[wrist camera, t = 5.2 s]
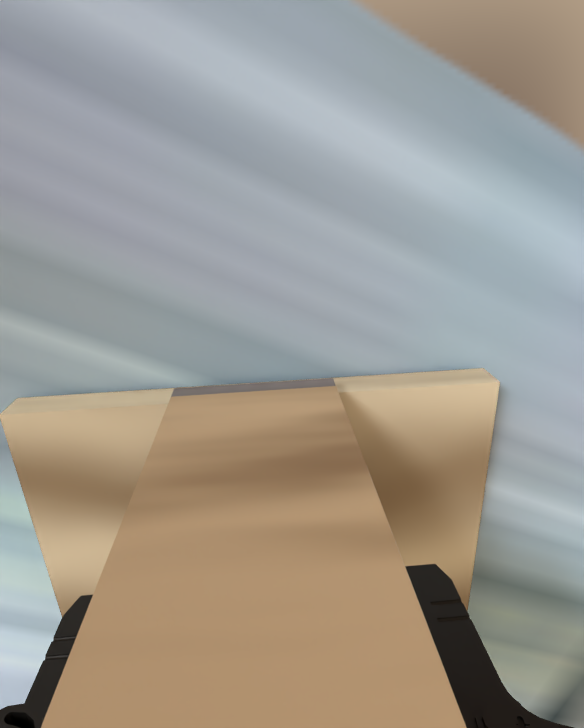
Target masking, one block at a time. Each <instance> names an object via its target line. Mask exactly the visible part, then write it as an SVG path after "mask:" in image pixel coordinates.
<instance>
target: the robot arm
mask: <svg viewBox="0 0 584 728" xmlns="http://www.w3.org/2000/svg"><path fill="white" fill-rule="evenodd" d="M366 466H367V465H366ZM369 474H370V473H369ZM371 479H372V478H371ZM372 482H373V481H372ZM374 487H375V486H374ZM376 492H377V491H376ZM377 495H378V494H377ZM379 500H380V499H379ZM382 508H383V507H382ZM384 513H385V512H384ZM385 516H386V515H385ZM387 521H388V520H387ZM389 526H390V525H389ZM390 529H391V528H390ZM392 534H393V533H392ZM395 542H396V541H395ZM397 547H398V546H397ZM398 550H399V549H398ZM400 555H401V554H400ZM402 560H403V559H402ZM403 563H404V562H403ZM405 568H406V570H407V573H408V576H409V578H410V581H411V584H412V586H413V589H414V591H415V594H416V597H417V599H418V602H419V604H420V607H421V610H422V612H423V615H424V618H425V620H426V623H427V625H428V628H429V631H430V633H431V636H432V638H433V641H434V644H435V646H436V649H437V652H438V654H439V657H440V659H441V662H442V665H443V667H444V670H445V672H446V675H447V678H448V680H449V683H450V686H451V688H452V691H453V693H454V696H455V699H456V701H457V704H458V706H459V709H460V712H461V714H462V717H463V720H464V722H465V725H466V727H467V728H573V727H569V726H565V725H561V724H557V723H553V722H550V721H547V720H544V719H542V718H539V717H537V716H536V715H534V714H532V713H531V712H529V711H527V710H526V709H525V708H523V706H522V705H521V704H520V703H519V702H518V701H516V700H515V699H514V698H513V697H512V696H511V695H510V694H509V693H508V692H507V690H506V688H505V687H504V685H503V683H502V682H501V680H500V678H499V676H498V674H497V672H496V670H495V668H494V666H493V664H492V661H491V659H490V657H489V655H488V653H487V651H486V649H485V647H484V645H483V643H482V641H481V639H480V637H479V635H478V633H477V631H476V629H475V626H474V624H473V622H472V620H470V618H469V614H468V612H467V610H466V608H465V606H464V604H463V603H462V602H461V598H460V596H459V594H458V591H457V589H456V587H455V585H454V583H453V581H452V579H451V578H450V577H449V576H448V575H446V574H445V573H444V572H443V571H442V570H441V569H440V568H439V567H438V566H437V565H436V564H426V565H414V566H405ZM92 596H93V595H82V596H80V597H79V598H78V599H77V600H76V601H75V603H74V604H73V605H72V606H71V607H70V608H69V609H68V611H67V612H66V613H65V614H64V615H63V617H62V620H61V622H60V624H59V626H58V629H57V631H56V633H55V635H54V640H53V642H51V644H50V647H49V649H48V651H47V654H46V658H45V661H43V663H42V665H41V667H40V669H39V672H38V674H37V676H36V678H35V681H34V683H33V685H32V687H31V690H30V692H29V694H28V697H27V699H26V701H25V703H24V704H19V705H12V706H7V707H5V708H3V709H1V710H0V728H41V726H42V723H43V721H44V718H45V716H46V713H47V711H48V708H49V706H50V703H51V700H52V698H53V695H54V693H55V690H56V688H57V685H58V683H59V680H60V678H61V675H62V672H63V670H64V667H65V665H66V662H67V660H68V657H69V655H70V652H71V650H72V647H73V644H74V642H75V639H76V637H77V634H78V632H79V629H80V627H81V624H82V622H83V619H84V617H85V614H86V611H87V609H88V606H89V604H90V601H91V599H92Z"/></svg>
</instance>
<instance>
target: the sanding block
mask: <svg viewBox="0 0 584 728" xmlns="http://www.w3.org/2000/svg"><path fill="white" fill-rule="evenodd" d="M41 728H467V727H466V725H465V722H464V720H463V717H462V714H461V712H460V709H459V706H458V704H457V701H456V699H455V696H454V693H453V691H452V688H451V686H450V683H449V680H448V678H447V675H446V672H445V670H444V667H443V665H442V662H441V659H440V657H439V654H438V652H437V649H436V646H435V644H434V641H433V638H432V636H431V633H430V631H429V628H428V625H427V623H426V620H425V618H424V615H423V612H422V610H421V607H420V604H419V602H418V599H417V597H416V594H415V591H414V589H413V586H412V584H411V581H410V578H409V576H408V573H407V570H406V568H405V565H404V563H403V560H402V557H401V555H400V552H399V550H398V547H397V544H396V542H395V539H394V536H393V534H392V531H391V529H390V526H389V523H388V521H387V518H386V516H385V513H384V510H383V508H382V505H381V502H380V500H379V497H378V495H377V492H376V489H375V487H374V484H373V482H372V479H371V476H370V474H369V471H368V468H367V466H366V463H365V461H364V458H363V455H362V453H361V450H360V448H359V445H358V442H357V440H356V437H355V434H354V432H353V429H352V427H351V424H350V421H349V419H348V416H347V414H346V411H345V408H344V406H343V403H342V400H341V398H340V395H339V393H338V390H337V387H336V385H335V382H334V380H333V378H327V379H311V380H296V381H280V382H265V383H249V384H234V385H218V386H203V387H187V388H174V390H173V393H172V395H171V398H170V400H169V403H168V405H167V408H166V411H165V413H164V416H163V418H162V421H161V423H160V426H159V428H158V431H157V433H156V436H155V439H154V441H153V444H152V446H151V449H150V451H149V454H148V456H147V459H146V461H145V464H144V466H143V469H142V472H141V474H140V477H139V479H138V482H137V484H136V487H135V489H134V492H133V494H132V497H131V500H130V502H129V505H128V507H127V510H126V512H125V515H124V517H123V520H122V522H121V525H120V528H119V530H118V533H117V535H116V538H115V540H114V543H113V545H112V548H111V550H110V553H109V555H108V558H107V561H106V563H105V566H104V568H103V571H102V573H101V576H100V578H99V581H98V583H97V586H96V589H95V591H94V594H93V596H92V599H91V601H90V604H89V606H88V609H87V611H86V614H85V617H84V619H83V622H82V624H81V627H80V629H79V632H78V634H77V637H76V639H75V642H74V644H73V647H72V650H71V652H70V655H69V657H68V660H67V662H66V665H65V667H64V670H63V672H62V675H61V678H60V680H59V683H58V685H57V688H56V690H55V693H54V695H53V698H52V700H51V703H50V706H49V708H48V711H47V713H46V716H45V718H44V721H43V723H42V726H41Z"/></svg>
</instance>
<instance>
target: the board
mask: <svg viewBox="0 0 584 728" xmlns="http://www.w3.org/2000/svg"><path fill="white" fill-rule="evenodd" d="M322 379H327V378H322ZM306 380H311V379H306ZM333 380H334V382H335V385H336V387H337V390H338V393H339V395H340V398H341V400H342V403H343V406H344V408H345V411H346V414H347V416H348V419H349V421H350V424H351V427H352V429H353V432H354V434H355V437H356V440H357V442H358V445H359V448H360V450H361V453H362V455H363V458H364V461H365V463H366V465H367V468H368V471H369V473H370V476H371V478H372V481H373V484H374V486H375V489H376V491H377V494H378V497H379V499H380V502H381V505H382V507H383V510H384V512H385V515H386V518H387V520H388V523H389V525H390V528H391V531H392V533H393V536H394V539H395V541H396V544H397V546H398V549H399V552H400V554H401V557H402V559H403V562H404V565H405V566H414V565H426V564H436V565H437V566H438V567H439V568H440V569H441V570H442V571H443V572H444V573H445V574H446V575H448V576H449V577H450V578H451V579H452V581H453V583H454V585H455V587H456V589H457V591H458V594H459V596H460V598H461V602H462V603H463V604H464V606H465V608H466V610H468V603H469V596H470V589H471V582H472V575H473V568H474V560H475V553H476V546H477V539H478V532H479V525H480V518H481V511H482V504H483V497H484V490H485V483H486V476H487V469H488V462H489V455H490V448H491V441H492V434H493V427H494V420H495V413H496V406H497V399H498V392H499V385H500V382H499V381H498V380H497V379H496V378H495V377H493V376H492V375H491V374H490V373H489V372H487V371H486V370H485V369H484V368H478V369H462V370H447V371H431V372H415V373H400V374H384V375H369V376H353V377H337V378H333ZM290 381H296V380H290ZM275 382H280V381H275ZM259 383H265V382H259ZM244 384H249V383H244ZM228 385H234V384H228ZM212 386H218V385H212ZM197 387H203V386H197ZM181 388H187V387H181ZM173 390H174V388H166V389H150V390H134V391H119V392H103V393H87V394H72V395H56V396H41V397H25V398H17V399H16V400H15V401H14V402H13V403H12V404H11V405H9V406H8V407H7V408H6V409H5V410H4V411H3V412H2V413H1V414H0V419H1V423H2V426H3V429H4V432H5V435H6V439H7V442H8V445H9V448H10V451H11V455H12V458H13V461H14V464H15V467H16V471H17V474H18V477H19V480H20V483H21V487H22V490H23V493H24V496H25V499H26V503H27V506H28V509H29V512H30V516H31V519H32V522H33V525H34V528H35V532H36V535H37V538H38V541H39V544H40V548H41V551H42V554H43V557H44V560H45V564H46V567H47V570H48V573H49V576H50V580H51V583H52V586H53V589H54V592H55V596H56V599H57V602H58V605H59V608H60V612H61V615H62V617H63V615H64V614H65V613H66V612H67V611H68V609H69V608H70V607H71V606H72V605H73V604H74V603H75V601H76V600H77V599H78V598H79V597H80V596H82V595H93V594H94V591H95V589H96V586H97V583H98V581H99V578H100V576H101V573H102V571H103V568H104V566H105V563H106V561H107V558H108V555H109V553H110V550H111V548H112V545H113V543H114V540H115V538H116V535H117V533H118V530H119V528H120V525H121V522H122V520H123V517H124V515H125V512H126V510H127V507H128V505H129V502H130V500H131V497H132V494H133V492H134V489H135V487H136V484H137V482H138V479H139V477H140V474H141V472H142V469H143V466H144V464H145V461H146V459H147V456H148V454H149V451H150V449H151V446H152V444H153V441H154V439H155V436H156V433H157V431H158V428H159V426H160V423H161V421H162V418H163V416H164V413H165V411H166V408H167V405H168V403H169V400H170V398H171V395H172V393H173Z"/></svg>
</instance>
